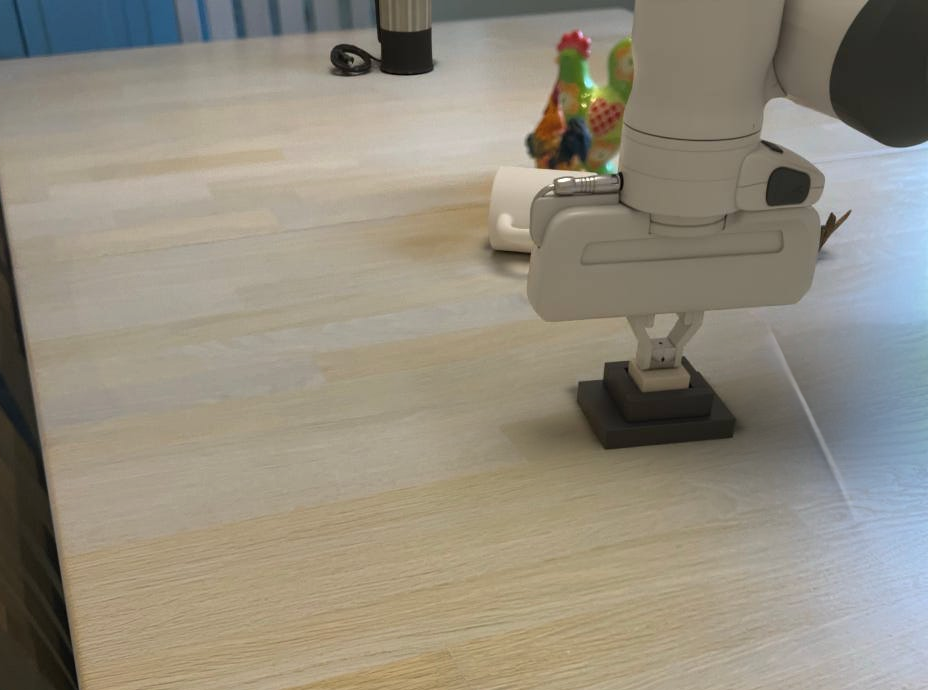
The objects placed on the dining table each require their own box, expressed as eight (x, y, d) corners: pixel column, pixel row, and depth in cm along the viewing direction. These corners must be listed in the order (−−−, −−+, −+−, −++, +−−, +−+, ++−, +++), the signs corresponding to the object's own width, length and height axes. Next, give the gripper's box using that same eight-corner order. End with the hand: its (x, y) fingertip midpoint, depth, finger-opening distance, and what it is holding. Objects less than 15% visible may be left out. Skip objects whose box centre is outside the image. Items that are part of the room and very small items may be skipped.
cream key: (671, 375, 78) (674, 354, 77) (687, 397, 76) (690, 375, 75) (626, 379, 78) (629, 358, 77) (641, 401, 75) (643, 379, 74)
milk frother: (446, 68, 171) (445, -36, 162) (378, 85, 163) (373, -25, 153) (387, 56, 179) (383, -44, 169) (320, 72, 170) (311, -34, 160)
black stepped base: (695, 390, 82) (702, 349, 80) (732, 438, 76) (741, 396, 74) (576, 400, 81) (579, 359, 79) (604, 450, 75) (609, 408, 73)
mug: (504, 234, 110) (506, 156, 105) (595, 242, 108) (602, 162, 103) (477, 275, 101) (478, 191, 96) (576, 284, 99) (582, 200, 94)
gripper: (543, 193, 63) (531, 396, 72) (849, 176, 66) (801, 374, 75) (521, 164, 68) (513, 357, 77) (808, 149, 70) (767, 338, 79)
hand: (657, 365), depth 76 cm, fingers closed, pressing on cream key
